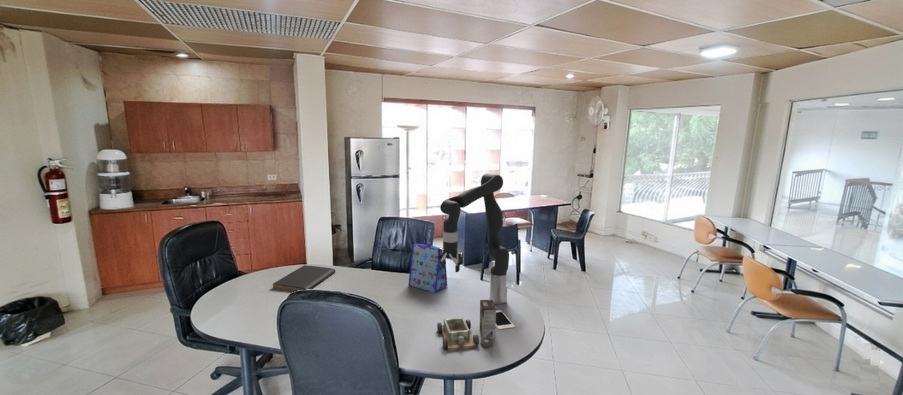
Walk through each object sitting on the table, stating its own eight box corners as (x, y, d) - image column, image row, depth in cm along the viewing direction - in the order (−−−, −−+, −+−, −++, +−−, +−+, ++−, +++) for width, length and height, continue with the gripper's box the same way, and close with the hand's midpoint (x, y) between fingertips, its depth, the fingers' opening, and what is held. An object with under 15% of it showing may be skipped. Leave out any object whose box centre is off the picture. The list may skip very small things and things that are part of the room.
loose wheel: (489, 341, 174) (490, 337, 174) (493, 347, 170) (493, 343, 169) (479, 342, 173) (479, 338, 173) (482, 348, 168) (482, 344, 168)
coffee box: (479, 329, 184) (479, 299, 181) (491, 329, 185) (492, 299, 182) (481, 339, 175) (482, 308, 172) (495, 339, 176) (496, 308, 173)
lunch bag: (447, 286, 234) (448, 243, 229) (435, 294, 223) (435, 248, 218) (420, 278, 246) (420, 237, 241) (407, 285, 235) (407, 242, 229)
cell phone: (498, 330, 184) (498, 328, 184) (485, 313, 201) (486, 311, 201) (514, 328, 187) (515, 326, 187) (501, 311, 204) (501, 309, 204)
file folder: (304, 264, 259) (335, 268, 254) (304, 270, 260) (335, 273, 255) (272, 283, 227) (306, 287, 222) (272, 289, 228) (307, 294, 223)
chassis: (468, 325, 188) (468, 315, 187) (479, 347, 169) (479, 336, 168) (436, 328, 185) (436, 318, 184) (444, 351, 166) (444, 340, 165)
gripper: (466, 240, 185) (465, 270, 188) (443, 235, 193) (443, 264, 196) (457, 244, 179) (457, 275, 182) (434, 239, 187) (434, 269, 190)
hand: (450, 270), depth 189 cm, fingers open, 8 cm apart
